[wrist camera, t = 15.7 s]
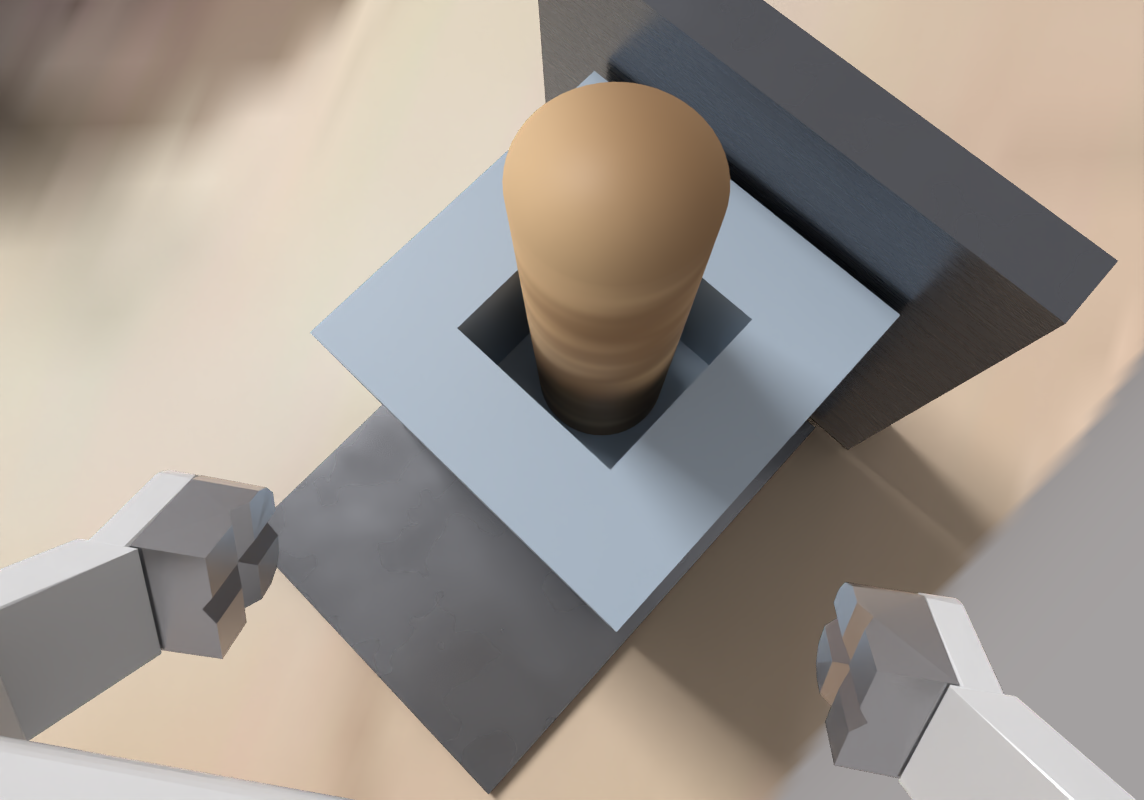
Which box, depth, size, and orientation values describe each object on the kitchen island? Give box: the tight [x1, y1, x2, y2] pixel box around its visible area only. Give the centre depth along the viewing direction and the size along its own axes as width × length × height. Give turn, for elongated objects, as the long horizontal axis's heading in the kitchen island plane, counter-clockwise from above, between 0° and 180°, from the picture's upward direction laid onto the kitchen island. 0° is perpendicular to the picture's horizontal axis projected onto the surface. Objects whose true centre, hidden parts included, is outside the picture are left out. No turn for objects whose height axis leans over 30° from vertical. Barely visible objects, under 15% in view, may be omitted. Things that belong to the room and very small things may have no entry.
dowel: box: [502, 82, 730, 435], centre depth 19 cm, size 4×4×12 cm
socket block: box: [310, 71, 900, 632], centre depth 25 cm, size 11×11×10 cm
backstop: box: [268, 0, 1117, 794], centre depth 23 cm, size 20×16×14 cm
